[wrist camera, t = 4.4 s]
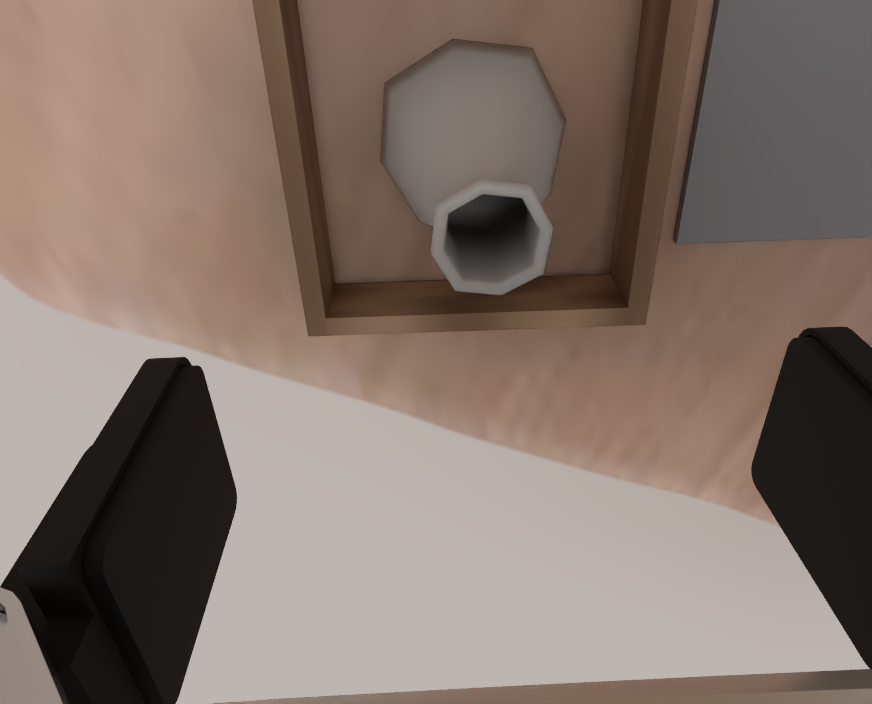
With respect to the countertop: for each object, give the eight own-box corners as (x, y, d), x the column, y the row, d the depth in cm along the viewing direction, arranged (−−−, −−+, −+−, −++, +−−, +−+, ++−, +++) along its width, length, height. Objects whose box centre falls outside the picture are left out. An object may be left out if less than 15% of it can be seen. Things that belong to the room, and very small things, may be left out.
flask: (553, 13, 23) (625, 61, 14) (574, 206, 27) (640, 333, 18) (354, 61, 24) (312, 132, 15) (402, 242, 27) (390, 379, 19)
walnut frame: (677, -80, 21) (710, -82, 19) (626, 290, 29) (645, 324, 26) (264, -63, 21) (242, -62, 19) (319, 301, 29) (308, 336, 26)
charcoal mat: (1064, -85, 21) (1074, -86, 21) (937, 230, 27) (943, 234, 27) (727, -72, 21) (732, -72, 21) (673, 240, 27) (676, 244, 27)
